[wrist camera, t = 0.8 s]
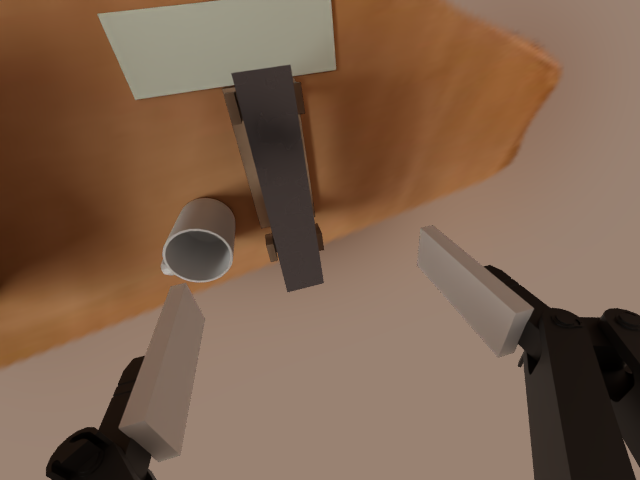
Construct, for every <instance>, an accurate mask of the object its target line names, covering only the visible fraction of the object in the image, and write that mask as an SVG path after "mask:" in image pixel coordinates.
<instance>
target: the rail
mask: <svg viewBox="0 0 640 480" xmlns="http://www.w3.org/2000/svg"><path fill="white" fill-rule="evenodd" d="M231 75H232V78H233V82H234V86H235V90H236V94H237V98H238V102H239V106H240V110H241V113H242V117H243V121H244V125H245V129H246V133H247V137H248V141H249V144H250V148H251V152H252V156H253V160H254V164H255V168H256V172H257V175H258V179H259V183H260V187H261V191H262V195H263V199H264V203H265V207H266V210H267V214H268V218H269V222H270V226H271V230H272V234H273V238H274V241H275V245H276V249H277V253H278V257H279V261H280V265H281V268H282V272H283V276H284V280H285V284H286V288H287V292H290V291H294V290H298V289H302V288H306V287H310V286H314V285H318V284H322V283H324V282H323V275H322V268H321V262H320V255H319V249H318V242H317V235H316V229H315V222H314V216H313V209H312V203H311V196H310V189H309V183H308V176H307V170H306V163H305V157H304V150H303V143H302V137H301V130H300V124H299V117H298V110H297V104H296V97H295V91H294V84H293V78H292V71H291V65H284V66H277V67H270V68H263V69H256V70H249V71H242V72H235V73H231Z"/></svg>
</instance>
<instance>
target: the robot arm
mask: <svg viewBox="0 0 640 480" xmlns="http://www.w3.org/2000/svg"><path fill="white" fill-rule="evenodd" d="M417 266H418V267H419V268H420V269H421V270H422V271H423V273H424V274H425V275H426V276H427V277H428V278H429V279H430V281H431V282H432V283H433V284H434V285H435V286H436V287H437V289H438V290H439V291H440V292H441V293H442V294H443V295H444V297H445V298H446V299H447V300H448V301H449V302H450V303H451V305H453V307H454V308H455V309H456V310H457V311H458V312H459V314H460V315H461V316H462V317H463V318H464V319H465V320H466V321H467V323H468V324H469V325H470V326H471V327H472V328H473V330H474V331H475V332H476V333H477V334H478V335H479V336H480V338H482V340H483V341H484V342H485V343H486V344H487V345H488V347H489V348H490V349H491V350H492V351H493V352H494V353H495V355H496V356H497V357H502V356H505V355H508V354H511V353H514V351H515V349H516V347H517V345H518V344H519V345H520V346H521V347H522V348H523V349H524V352H523V354H522V356H521V358H520V361H519V363H518V367H521V366H522V364H523V362H524V373H525V383H526V394H527V403H528V414H529V425H530V436H531V447H532V457H533V469H534V479H535V480H636V478H635V475H634V472H633V469H632V466H631V463H630V459H629V457H628V453H627V450H626V447H625V444H624V441H625V443H626V445H627V446H628V448H629V450H630V451H631V453H632V455H633V457H634V458H635V460H636V462H637V464H638V465H639V467H640V316H639V315H638V314H636V313H633V312H630V311H627V310H623V309H618V308H616V309H615V308H614V309H608V310H606V311H605V312H604V313H603V315H602V316H601V318H595V317H594V318H593V317H591V318H590V317H578V316H577V315H575V314H573V313H571V312H569V311H566V310H563V309H557V308H550V307H548V306H547V305H546V304H544V303H543V302H542V301H540V300H539V299H538V298H537V297H535V296H534V295H533V294H531V293H530V292H529V291H528V290H526V289H525V288H524V287H522V286H521V285H519V284H518V283H517V282H516V281H515V280H513V279H511V277H510V276H508V275H507V274H506V273H504V272H503V271H502V270H500V269H497V268H495V267H493V266H491V265H488V266H484V267H483V266H482V265H481V264H480V263H478V262H477V261H476V260H475V259H473V258H472V257H471V256H470V255H469V254H467V253H466V252H465V251H464V250H462V249H461V248H460V247H459V246H458V245H456V244H455V243H454V242H453V241H452V240H450V239H449V238H448V237H447V236H445V235H444V234H443V233H442V232H440V231H439V230H438V229H437V228H436V227H435V226H433V225H432V226H427V227H423V228H421V229H420V239H419V250H418V260H417ZM204 321H205V318H204V316H203V314H202V312H201V310H200V308H199V306H198V305H197V303H196V301H195V299H194V297H193V295H192V293H191V291H190V289H189V288H188V286H187V284H186V283H184V284H179V285H175V286H171V287H170V290H169V292H168V295H167V298H166V301H165V303H164V306H163V309H162V311H161V314H160V317H159V319H158V322H157V325H156V328H155V330H154V333H153V336H152V339H151V341H150V344H149V346H148V349H147V352H146V355H145V356H142V357H138V358H134V359H133V360H132V361H131V362H130V364H129V365H128V366H127V367H126V369H125V370H124V371H123V373H122V376H121V378H120V380H119V383H118V387H117V388H116V390H115V392H114V395H113V396H114V397H113V398H112V399H111V402H110V404H109V407H108V409H107V411H106V414H105V416H104V418H103V420H102V423H101V425H100V428H99V430H97V429H96V428H94V427H87V428H84V429H81V430H79V431H77V432H75V433H74V434H72V435H71V436H69V437H68V438H67V439H66V440H65V441H64V442H63V443H62V444H61V445H60V446H59V447H58V448H57V449H56V451H55V452H54V453H53V455H52V456H51V458H50V460H49V462H48V465H47V467H46V476H47V477H49V478H51V479H52V480H156V478H155V476H154V475H153V473H152V472H151V471H150V470H149V469H148V467H149V463H150V459H151V456H152V457H153V458H154V459H156V460H157V461H158V462H160V461H163V460H167V459H170V458H173V457H177V456H180V454H181V449H182V443H183V438H184V432H185V427H186V421H187V416H188V410H189V405H190V399H191V394H192V388H193V383H194V377H195V371H196V366H197V360H198V355H199V349H200V344H201V338H202V333H203V327H204ZM623 439H624V441H623Z"/></svg>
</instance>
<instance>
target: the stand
mask: <svg viewBox="0 0 640 480" xmlns="http://www.w3.org/2000/svg"><path fill="white" fill-rule="evenodd" d="M293 84H294V91H295V97H296V104H297V110H298V117H299V124H300V130H301V137H302V143H303V150H304V157H305V163H306V170H307V176H308V183H309V189H310V196H311V203H312V209H313V216H314V217H315V211H314V205H313V198H312V191H311V184H310V178H309V171H308V164H307V157H306V151H305V144H304V137H303V130H302V124H301V117H300V114H305V109H304V102H303V95H302V88H301V82H295V78H293ZM222 91H223V94H224V98H225V101H226V105H227V108H228V112H229V115H230V119H231V123H232V126H233V130H234V133H235V137H236V140H237V144H238V147H239V151H240V155H241V158H242V162H243V165H244V169H245V172H246V176H247V179H248V183H249V187H250V190H251V194H252V197H253V201H254V204H255V208H256V211H257V215H258V219H259V222H260V226H261V228H266V227H270V222H269V218H268V214H267V210H266V207H265V203H264V199H263V195H262V191H261V187H260V183H259V179H258V175H257V172H256V168H255V164H254V160H253V156H252V152H251V148H250V144H249V141H248V137H247V133H246V129H245V125H244V121H243V117H242V113H241V110H240V106H239V102H238V98H237V94H236V90H235V87H231V88H225V89H222ZM315 229H316V235H317V242H318V249H319V251H321V250H324V246H323V239H322V233H321V230H320V228H319V226H318V224H317V223H316V224H315ZM265 238H266V246H267V250H268V253H269V257H270V261H271V262H274V261H278V259H277V253H276V252H277V249H276V245H275V241H274V238H273V234H272V233H271V234H266V235H265Z"/></svg>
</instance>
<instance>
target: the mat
mask: <svg viewBox="0 0 640 480" xmlns="http://www.w3.org/2000/svg"><path fill="white" fill-rule="evenodd" d="M97 15H98V17H99V19H100V22H101V24H102V26H103V28H104V31H105V33H106V35H107V37H108V40H109V42H110V44H111V46H112V49H113V51H114V53H115V55H116V58H117V60H118V62H119V64H120V67H121V69H122V71H123V73H124V76H125V78H126V80H127V82H128V85H129V87H130V89H131V91H132V94H133V96H134V98H135V100H137V99H144V98H151V97H157V96H164V95H171V94H177V93H184V92H191V91H197V90H204V89H211V88H218V87H224V86H231V85H234V82H233V78H232V75H231V73H235V72H242V71H249V70H256V69H263V68H270V67H277V66H284V65H291V71H292V76H298V75H305V74H311V73H318V72H325V71H332V70H336V60H335V47H334V33H333V20H332V6H331V0H219V1H210V2H201V3H192V4H183V5H173V6H164V7H155V8H146V9H137V10H128V11H119V12H110V13H101V14H97Z"/></svg>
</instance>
